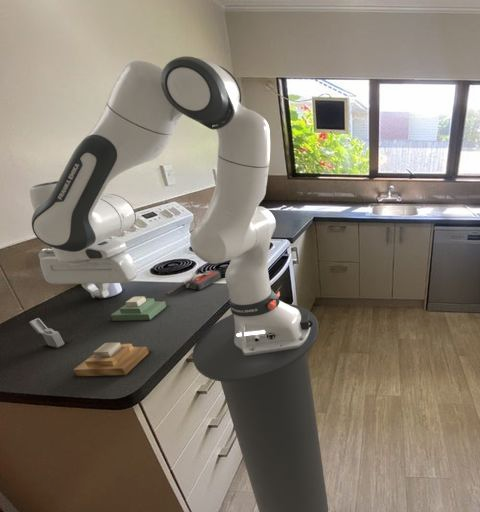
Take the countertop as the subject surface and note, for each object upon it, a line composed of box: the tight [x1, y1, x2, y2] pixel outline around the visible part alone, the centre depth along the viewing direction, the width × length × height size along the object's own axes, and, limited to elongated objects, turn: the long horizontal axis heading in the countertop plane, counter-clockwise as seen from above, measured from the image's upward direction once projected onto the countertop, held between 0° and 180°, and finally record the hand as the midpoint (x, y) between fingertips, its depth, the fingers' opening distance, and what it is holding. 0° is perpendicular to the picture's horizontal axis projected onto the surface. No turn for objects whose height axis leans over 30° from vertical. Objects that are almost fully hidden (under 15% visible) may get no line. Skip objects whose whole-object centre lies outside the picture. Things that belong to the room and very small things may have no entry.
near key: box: [93, 342, 122, 358], centre depth 74 cm, size 4×4×2 cm
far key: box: [125, 295, 146, 307], centre depth 96 cm, size 4×4×2 cm
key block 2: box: [73, 343, 149, 377], centre depth 75 cm, size 12×8×4 cm, turn 92°
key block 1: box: [110, 297, 167, 322], centre depth 97 cm, size 12×8×4 cm, turn 92°
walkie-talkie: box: [165, 269, 222, 296], centre depth 115 cm, size 9×4×20 cm
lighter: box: [29, 317, 65, 349], centre depth 82 cm, size 7×2×8 cm, turn 75°
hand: (101, 296), depth 76 cm, fingers closed
